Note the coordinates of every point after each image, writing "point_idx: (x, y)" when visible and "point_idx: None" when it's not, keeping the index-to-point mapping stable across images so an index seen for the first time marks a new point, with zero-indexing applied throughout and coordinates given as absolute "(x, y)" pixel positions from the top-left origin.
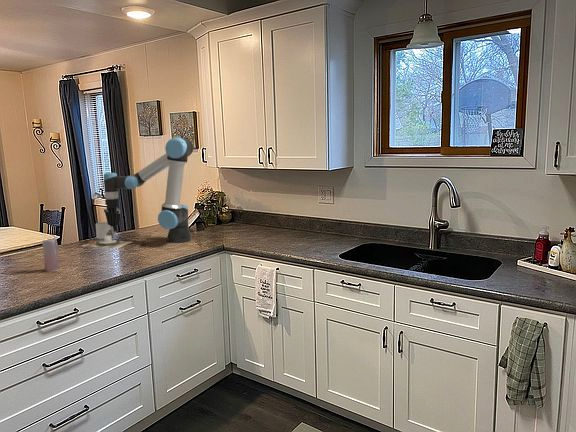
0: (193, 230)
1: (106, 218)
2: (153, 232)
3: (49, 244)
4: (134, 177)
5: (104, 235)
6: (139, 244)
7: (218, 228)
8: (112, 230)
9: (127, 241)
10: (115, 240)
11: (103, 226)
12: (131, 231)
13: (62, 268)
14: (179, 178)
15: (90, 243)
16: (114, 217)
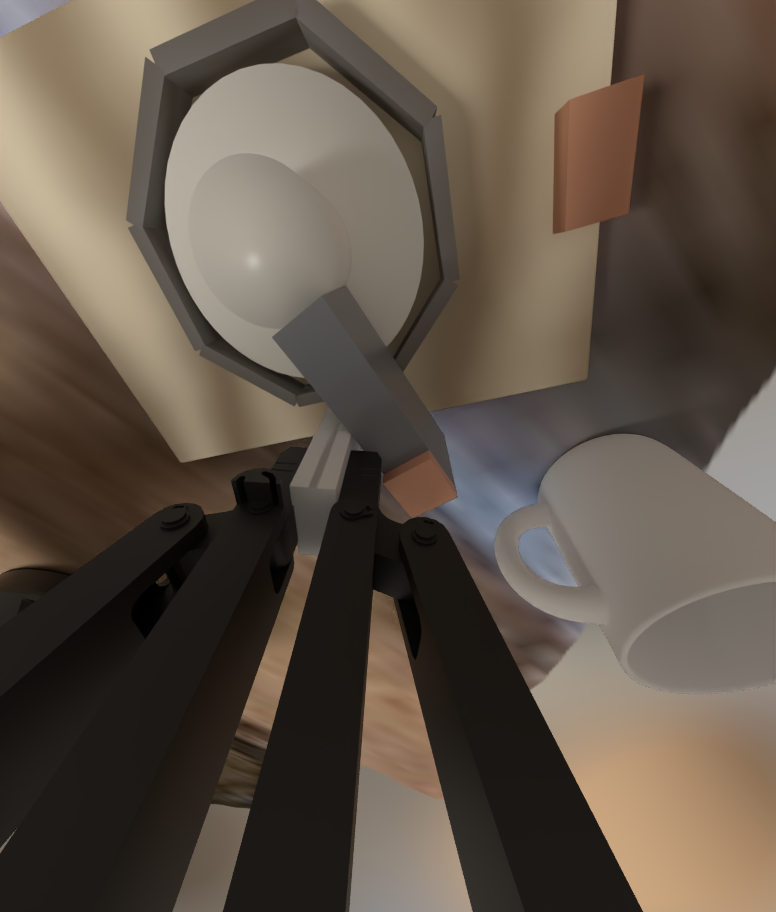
0: (250, 735)
1: (531, 708)
2: (385, 687)
3: None
4: None
5: (331, 237)
6: (126, 449)
7: None
8: (317, 443)
9: (237, 447)
10: (255, 346)
11: (654, 568)
12: (532, 677)
13: None
14: None
15: (564, 111)
16: (82, 787)
